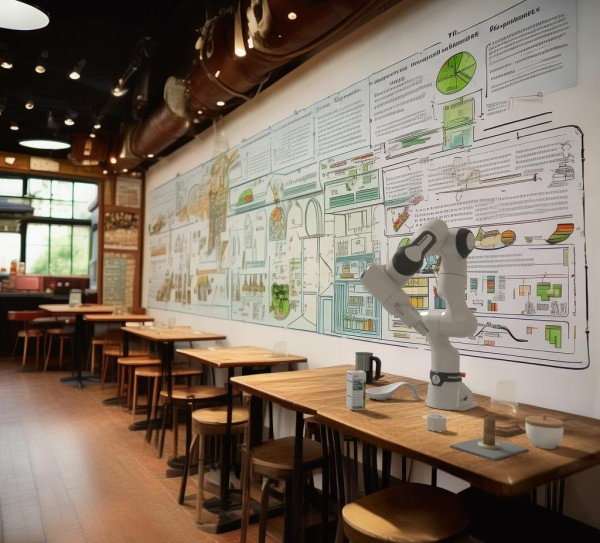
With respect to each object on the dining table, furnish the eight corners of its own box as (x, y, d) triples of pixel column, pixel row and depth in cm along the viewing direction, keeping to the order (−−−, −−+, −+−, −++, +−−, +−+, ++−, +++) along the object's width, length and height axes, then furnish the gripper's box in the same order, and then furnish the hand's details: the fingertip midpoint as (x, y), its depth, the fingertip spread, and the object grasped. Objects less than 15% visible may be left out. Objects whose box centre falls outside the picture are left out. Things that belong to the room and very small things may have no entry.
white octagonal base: (434, 426, 176) (434, 413, 176) (449, 430, 171) (449, 416, 172) (422, 428, 172) (423, 415, 173) (437, 433, 168) (438, 419, 168)
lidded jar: (552, 441, 163) (552, 411, 163) (571, 451, 152) (571, 419, 153) (518, 440, 163) (518, 410, 163) (534, 450, 152) (535, 418, 152)
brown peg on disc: (485, 442, 156) (486, 416, 157) (504, 447, 152) (505, 420, 152) (473, 445, 153) (474, 418, 153) (492, 451, 148) (493, 423, 148)
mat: (485, 438, 163) (485, 436, 163) (528, 450, 152) (528, 448, 152) (450, 447, 152) (450, 445, 152) (493, 460, 141) (493, 458, 141)
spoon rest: (372, 402, 214) (372, 385, 214) (360, 397, 225) (361, 380, 225) (423, 401, 220) (424, 384, 221) (410, 396, 232) (410, 379, 232)
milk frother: (352, 382, 260) (353, 352, 261) (358, 378, 275) (359, 350, 275) (380, 385, 255) (381, 354, 256) (385, 380, 270) (386, 351, 271)
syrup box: (351, 411, 195) (352, 372, 196) (345, 407, 201) (346, 369, 202) (365, 410, 197) (366, 371, 198) (359, 407, 203) (360, 369, 203)
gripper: (400, 297, 166) (431, 329, 163) (408, 296, 186) (436, 325, 182) (385, 311, 168) (416, 343, 164) (395, 308, 187) (422, 337, 184)
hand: (426, 333), depth 173 cm, fingers open, 8 cm apart
